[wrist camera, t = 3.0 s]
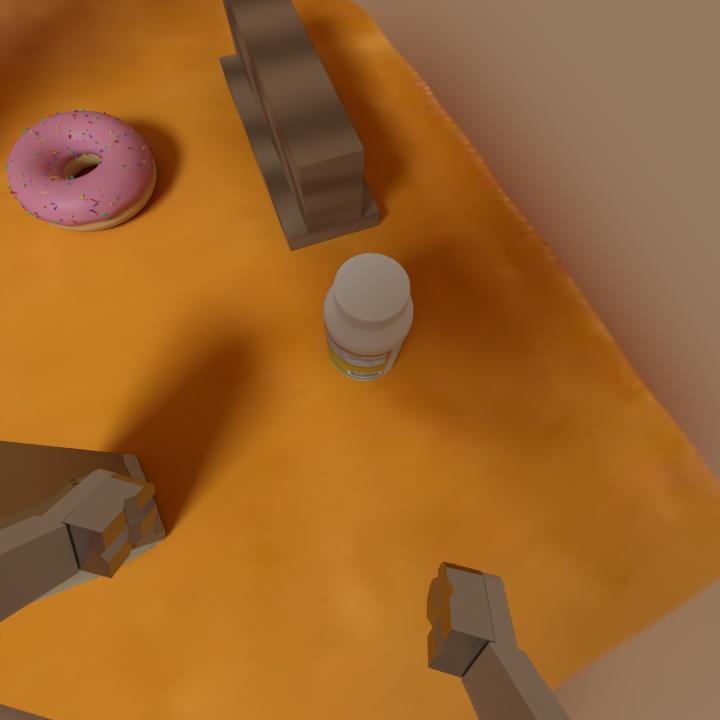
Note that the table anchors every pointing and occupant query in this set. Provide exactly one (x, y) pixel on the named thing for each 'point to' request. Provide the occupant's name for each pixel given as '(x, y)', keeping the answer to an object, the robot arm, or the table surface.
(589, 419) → the table surface
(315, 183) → the beam
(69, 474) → the skincare box
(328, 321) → the supplement bottle
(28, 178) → the doughnut
